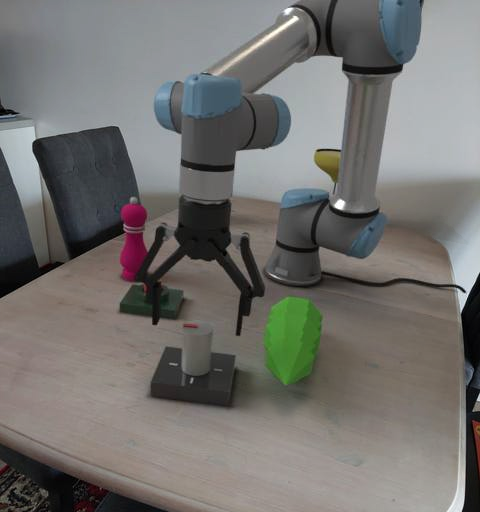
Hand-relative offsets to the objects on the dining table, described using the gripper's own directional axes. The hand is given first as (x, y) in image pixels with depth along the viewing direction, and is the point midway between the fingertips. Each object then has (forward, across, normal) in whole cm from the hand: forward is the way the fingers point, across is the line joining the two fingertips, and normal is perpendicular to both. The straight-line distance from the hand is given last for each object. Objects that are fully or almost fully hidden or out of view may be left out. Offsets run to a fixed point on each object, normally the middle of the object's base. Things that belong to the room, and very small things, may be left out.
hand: (197, 326), depth 77 cm
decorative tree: (+11, -16, -9) cm, 22 cm away
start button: (+8, +14, -26) cm, 31 cm away
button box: (+11, +14, -26) cm, 32 cm away
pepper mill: (+11, +22, -40) cm, 47 cm away
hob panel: (+11, 0, 0) cm, 11 cm away
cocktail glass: (+11, -32, -106) cm, 111 cm away
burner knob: (+8, 0, 0) cm, 8 cm away
